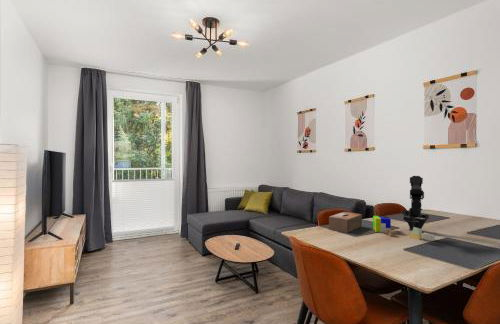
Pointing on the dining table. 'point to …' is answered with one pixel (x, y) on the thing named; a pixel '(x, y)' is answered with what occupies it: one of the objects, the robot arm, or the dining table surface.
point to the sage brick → (416, 231)
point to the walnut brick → (389, 232)
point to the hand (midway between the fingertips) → (415, 229)
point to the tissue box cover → (345, 221)
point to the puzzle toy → (381, 223)
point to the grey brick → (428, 236)
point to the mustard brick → (415, 236)
